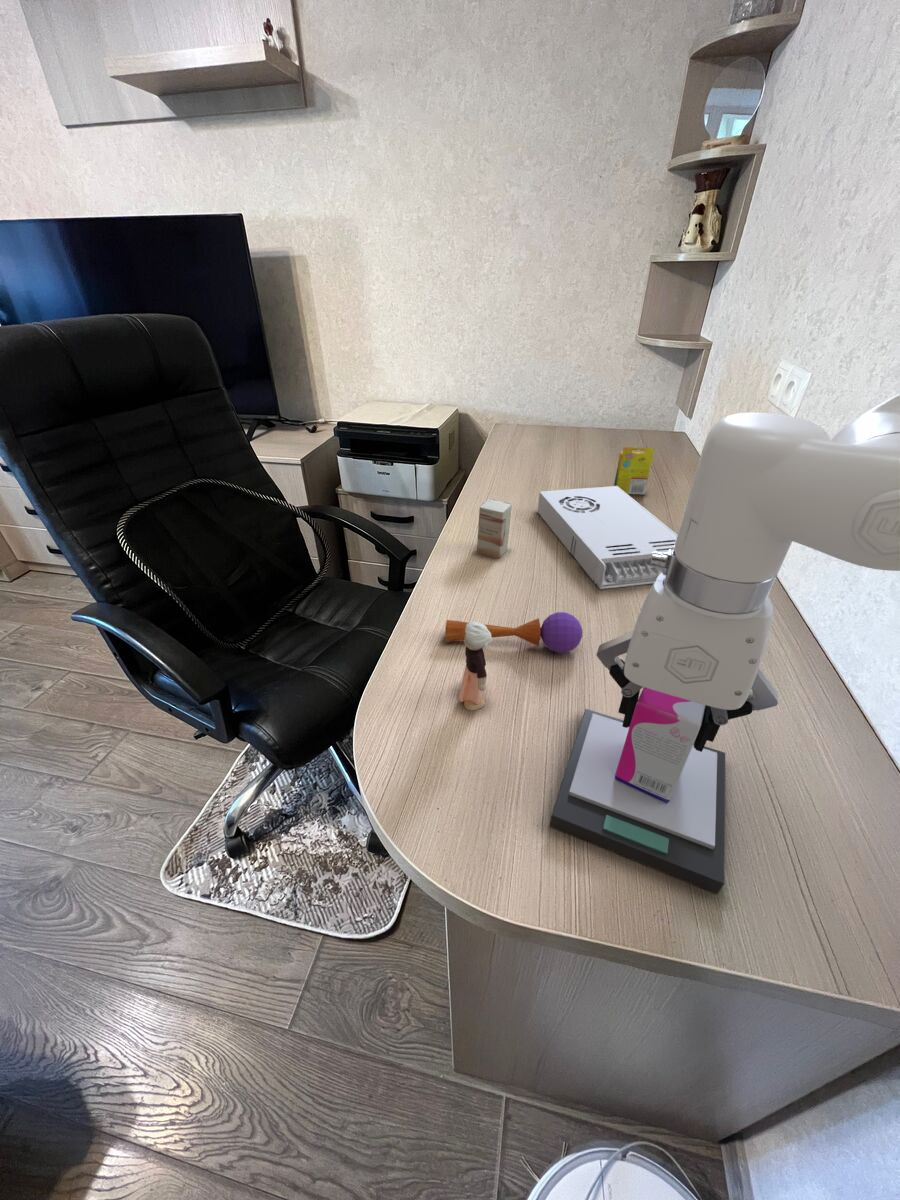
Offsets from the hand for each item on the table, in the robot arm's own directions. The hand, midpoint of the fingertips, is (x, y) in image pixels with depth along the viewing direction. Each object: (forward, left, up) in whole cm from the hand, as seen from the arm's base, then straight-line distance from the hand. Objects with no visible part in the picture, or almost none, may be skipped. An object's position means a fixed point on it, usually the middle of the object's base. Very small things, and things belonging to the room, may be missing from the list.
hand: (662, 727), depth 50 cm
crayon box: (+14, -86, -10) cm, 88 cm away
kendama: (+21, -17, -10) cm, 29 cm away
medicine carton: (+34, -43, -10) cm, 56 cm away
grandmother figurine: (+22, -4, -10) cm, 24 cm away
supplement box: (0, 0, -7) cm, 7 cm away
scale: (0, +1, -10) cm, 10 cm away
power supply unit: (+14, -57, -10) cm, 60 cm away
